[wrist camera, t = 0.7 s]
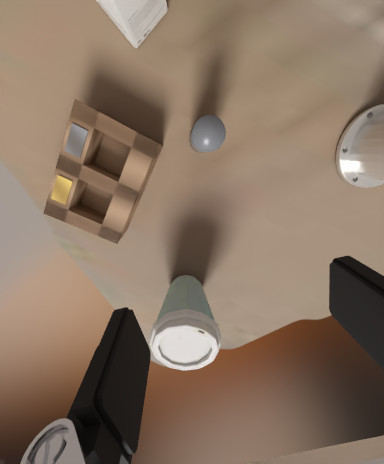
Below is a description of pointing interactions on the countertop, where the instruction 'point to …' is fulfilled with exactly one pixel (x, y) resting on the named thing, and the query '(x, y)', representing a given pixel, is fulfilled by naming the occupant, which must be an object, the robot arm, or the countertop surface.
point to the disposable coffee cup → (185, 327)
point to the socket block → (100, 173)
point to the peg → (207, 134)
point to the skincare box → (135, 16)
